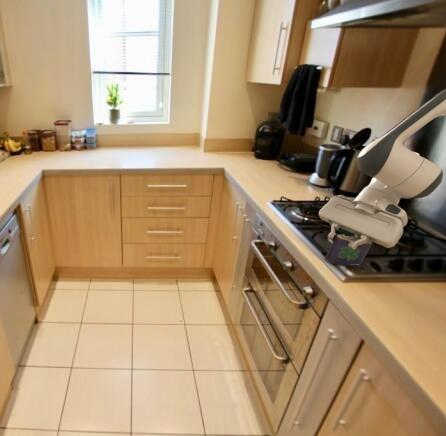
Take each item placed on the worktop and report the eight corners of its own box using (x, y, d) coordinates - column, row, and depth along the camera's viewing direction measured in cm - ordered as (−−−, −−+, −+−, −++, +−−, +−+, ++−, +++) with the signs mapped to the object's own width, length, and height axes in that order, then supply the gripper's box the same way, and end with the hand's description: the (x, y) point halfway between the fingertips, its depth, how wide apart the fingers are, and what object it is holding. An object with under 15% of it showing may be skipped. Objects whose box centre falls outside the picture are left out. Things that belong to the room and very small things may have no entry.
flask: (358, 263, 95) (374, 234, 89) (361, 269, 93) (377, 240, 87) (324, 256, 98) (337, 228, 92) (325, 262, 96) (339, 234, 90)
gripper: (333, 187, 97) (304, 222, 97) (413, 214, 81) (377, 256, 81) (337, 198, 101) (309, 231, 101) (414, 225, 85) (380, 265, 85)
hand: (340, 243), depth 91 cm, fingers closed on flask, 4 cm apart
